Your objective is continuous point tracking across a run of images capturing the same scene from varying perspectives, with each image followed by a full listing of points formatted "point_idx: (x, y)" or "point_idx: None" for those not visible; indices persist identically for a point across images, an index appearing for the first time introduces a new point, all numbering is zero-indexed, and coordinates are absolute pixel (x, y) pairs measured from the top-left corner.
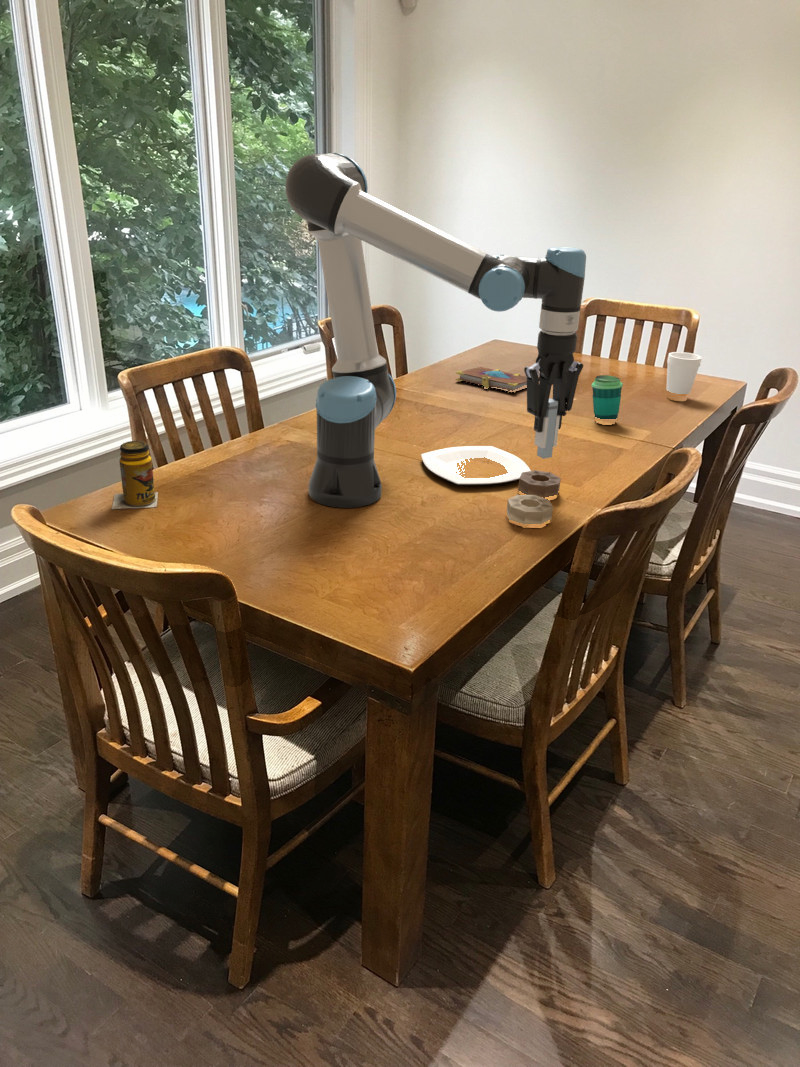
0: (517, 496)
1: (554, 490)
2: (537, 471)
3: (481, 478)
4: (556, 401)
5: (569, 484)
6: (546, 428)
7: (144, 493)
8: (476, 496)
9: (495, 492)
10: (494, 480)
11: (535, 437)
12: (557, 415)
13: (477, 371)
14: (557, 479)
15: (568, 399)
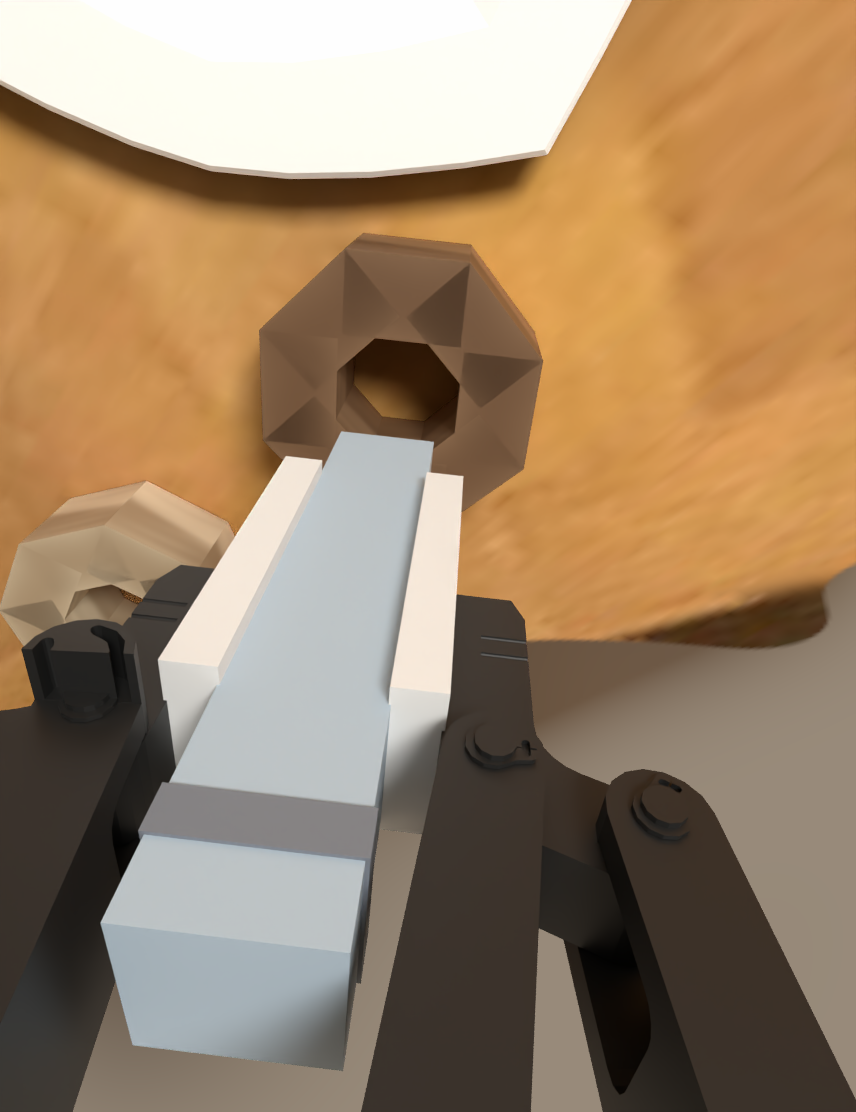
0: (89, 543)
1: None
2: (469, 293)
3: (93, 14)
4: (309, 1059)
5: (699, 353)
6: None
7: None
8: (8, 197)
9: (162, 206)
10: (175, 117)
11: (264, 494)
12: (414, 810)
13: None
14: (483, 476)
15: (607, 1104)
